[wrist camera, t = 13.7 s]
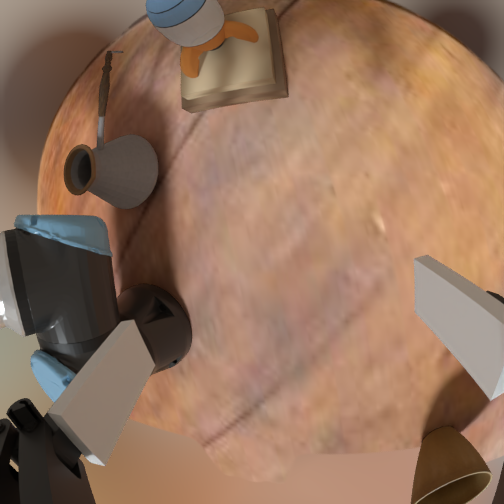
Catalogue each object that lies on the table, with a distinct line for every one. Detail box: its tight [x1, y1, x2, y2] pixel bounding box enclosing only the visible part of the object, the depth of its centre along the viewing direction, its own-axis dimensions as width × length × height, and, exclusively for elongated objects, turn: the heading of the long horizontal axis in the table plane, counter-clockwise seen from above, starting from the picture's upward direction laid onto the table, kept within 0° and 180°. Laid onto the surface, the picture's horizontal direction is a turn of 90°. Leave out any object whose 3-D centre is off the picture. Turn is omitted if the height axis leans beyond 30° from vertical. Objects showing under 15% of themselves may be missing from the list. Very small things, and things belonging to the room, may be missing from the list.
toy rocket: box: [146, 0, 259, 78], centre depth 23 cm, size 10×11×15 cm
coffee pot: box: [64, 51, 158, 209], centre depth 32 cm, size 21×12×15 cm, turn 156°
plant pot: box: [411, 426, 492, 504], centre depth 28 cm, size 15×15×16 cm
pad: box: [181, 7, 288, 113], centre depth 31 cm, size 14×14×5 cm
